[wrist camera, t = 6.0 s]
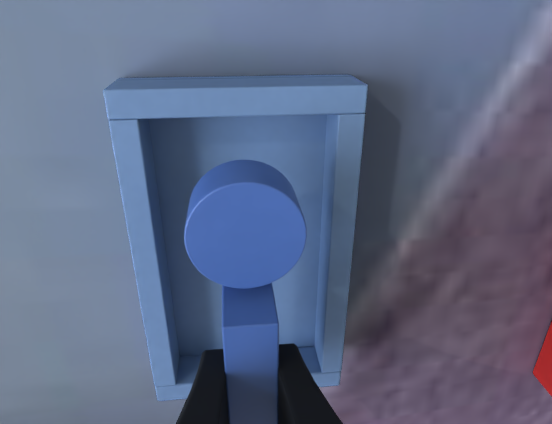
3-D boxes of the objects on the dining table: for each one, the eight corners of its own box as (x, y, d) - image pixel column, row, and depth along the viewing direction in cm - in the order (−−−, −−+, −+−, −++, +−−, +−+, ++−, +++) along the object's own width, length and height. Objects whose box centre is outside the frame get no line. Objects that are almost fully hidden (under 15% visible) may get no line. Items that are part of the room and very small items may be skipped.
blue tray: (329, 351, 19) (340, 386, 17) (163, 364, 18) (156, 402, 16) (350, 74, 13) (368, 84, 12) (118, 78, 13) (102, 89, 11)
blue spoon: (292, 382, 15) (305, 452, 13) (206, 390, 15) (203, 463, 12) (299, 156, 11) (317, 197, 9) (183, 160, 11) (173, 203, 9)
